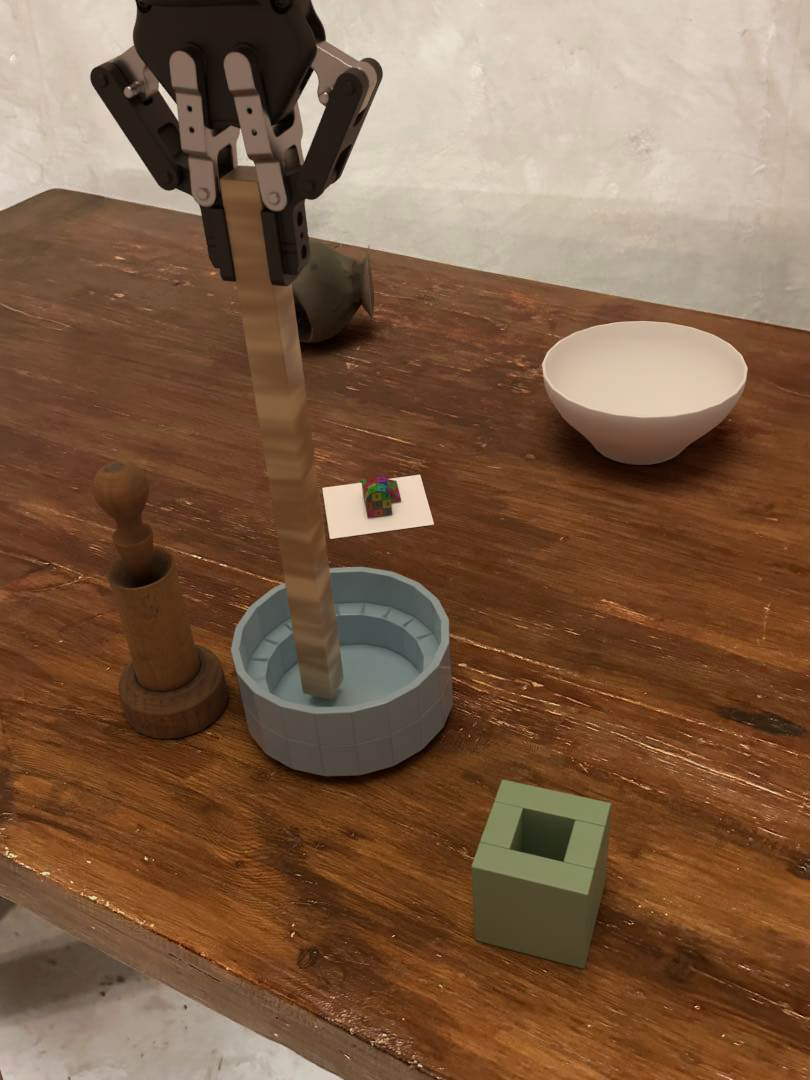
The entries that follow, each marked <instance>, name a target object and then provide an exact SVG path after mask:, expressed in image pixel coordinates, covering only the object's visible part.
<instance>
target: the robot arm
mask: <svg viewBox="0 0 810 1080" xmlns="http://www.w3.org/2000/svg"><path fill="white" fill-rule="evenodd" d="M134 2H135V5H136V16H135V22H134V25H133V29H132V43H133V45H132V46H131V47H129V48H128V49H126V50H125V51H124V52H123V53H121V54H119V55H117V56H116V57H113V58H111V59H109V60H107V61H105V62H103V63H101V64H98V65H97V66H95V67H93V68H92V69H91V70H90V74H89V79H90V84H91V86H92V87H93V89H94V90H95V92H96V93H97V95H98V97H99V98H100V99H101V101H102V103H103V104H104V106H105V107H106V108H107V110H108V112H109V113H110V114H111V116H112V117H113V119H114V121H115V123H116V124H117V125H118V126H119V128H120V130H121V131H122V132H123V134H124V136H125V137H126V138H127V140H128V142H129V143H130V145H131V146H132V147H133V149H134V151H135V152H136V153H137V155H138V157H139V158H140V160H141V161H142V163H143V164H144V166H145V167H146V169H147V170H148V172H149V174H150V175H151V176H152V178H153V179H154V181H155V183H156V184H157V185H158V186H159V188H161V189H162V190H164V191H168V192H171V191H174V190H178V191H181V192H182V193H185V194H187V195H189V196H191V198H193V200H194V201H195V202H196V204H197V205H198V206H199V210H200V214H201V220H202V226H203V232H204V237H205V243H206V246H207V247H206V249H207V253H208V254H207V255H208V259H209V261H210V263H211V265H212V266H213V269H217V270H219V275H220V278H221V280H222V281H224V282H233V283H236V278H235V272H234V266H233V260H232V253H231V247H230V241H229V235H228V229H227V223H226V217H225V211H224V206H223V200H222V194H221V188H220V179H221V178H222V177H223V176H225V175H226V174H228V173H229V172H230V171H232V170H233V169H234V168H236V167H237V166H239V162H238V148H237V147H238V146H237V143H238V139H239V137H240V133H241V137H242V141H243V145H244V149H245V154H246V156H247V158H248V159H249V160H250V161H252V162H253V165H254V166H255V169H256V173H257V178H258V182H259V187H260V191H261V196H262V200H263V202H264V204H265V206H266V208H265V209H264V210H262V211H261V212H260V214H261V221H262V227H263V234H264V241H265V248H266V255H267V262H268V269H269V276H270V281H271V284H272V285H276V286H289V285H290V284H291V283H292V282H293V281H294V280H295V279H296V278H297V277H298V276H299V275H300V273H301V270H302V269H303V268H304V267H305V266H306V265H307V264H308V262H309V258H310V254H311V252H310V244H309V238H310V237H309V229H308V221H307V212H306V200H309V201H315V200H317V199H318V198H319V197H321V196H322V195H323V194H324V193H325V191H326V190H327V189H328V188H329V187H330V186H331V185H333V184H335V183H336V182H337V181H338V180H339V179H341V177H342V175H343V172H344V170H345V167H346V165H347V163H348V160H349V158H350V156H351V154H352V151H353V149H354V146H355V144H356V142H357V139H358V137H359V135H360V133H361V130H362V128H363V125H364V123H365V120H366V119H367V116H368V113H369V111H370V109H371V106H372V104H373V101H374V99H375V97H376V95H377V92H378V90H379V87H380V85H381V83H382V80H383V77H384V70H383V67H382V65H381V63H380V62H379V61H378V60H377V59H375V58H373V57H364V58H362V59H360V60H357V59H356V58H354V57H353V56H351V55H349V54H348V53H346V52H344V50H343V51H342V50H341V49H339V48H338V47H336V46H334V45H333V44H332V43H329V41H327V33H326V29H325V27H324V25H323V23H322V20H321V19H320V17H319V15H318V13H317V11H316V9H315V7H314V4H313V1H312V0H134ZM313 73H315V74H316V77H317V80H318V84H317V85H318V86H317V90H316V95H317V98H318V101H319V103H320V104H321V105H322V106H324V107H325V108H324V110H323V113H322V115H321V118H320V119H319V122H318V125H317V127H316V131H315V133H314V135H313V137H312V140H311V143H310V146H309V148H308V151H307V153H306V156H305V158H304V155H303V149H302V139H303V136H304V129H303V128H304V127H303V123H302V118H301V117H302V116H301V112H300V107H299V102H298V101H299V99H300V98H301V96H302V94H303V91H304V90H305V88H306V86H307V85H308V82H309V80H310V78H311V77H312V75H313ZM160 85H161V87H162V88H163V89H164V90H165V92H166V93H167V95H168V96H169V97H170V99H171V100H172V101H173V102H174V103H175V104H176V109H177V111H176V112H177V117H176V115H175V113H174V112H173V111H172V109H171V107H170V106H169V104H168V103H167V101H166V99H165V98H164V96H163V95H162V93H161V92H160V90H159V89H160ZM0 1080H4V1078H3V1074H2V1071H1V1069H0Z"/></svg>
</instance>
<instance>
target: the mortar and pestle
mask: <svg viewBox="0 0 810 1080" xmlns="http://www.w3.org/2000/svg"><path fill="white" fill-rule="evenodd" d="M92 493H93V497H94V500H95V502H96V503H97V505H98V506H99V507H100V508H101V509H102V511H104V512H105V513H106V514H107V515H109V516H110V517H111V518H112V519H113V520H114V521H115V524H116V529H115V531H114V532H113V533H112V536H111V539H112V542H113V545H114V547H115V549H116V550H117V553H118V554H119V555H120V556H118V557H117V558H115V559H114V561H112V562H111V564H110V566H109V567H108V569H107V580H108V582H109V587H110V590H111V592H112V596H113V599H114V602H115V606H116V608H117V612H118V616H119V618H120V622H121V625H122V629H123V633H124V636H125V639H126V644H127V646H128V650H129V654H130V657H131V661H130V662H129V663H128V664H127V665H126V667H124V669H123V670H122V672H121V674H120V676H119V679H118V683H117V689H118V696H119V700H120V703H121V706H122V711H123V714H124V717H125V720H126V721H127V723H128V724H129V725H130V727H132V729H133V730H135V731H136V732H138V733H140V734H141V735H144V736H146V737H149V738H153V739H159V740H162V739H163V740H173V739H181V738H185V737H188V736H192V735H193V734H196V733H199V732H201V731H202V730H204V729H207V727H208V726H210V725H211V724H213V723H214V722H215V721H216V720H217V719H218V718H219V717H220V716H221V714H223V711H224V710H225V708H226V706H227V703H228V699H229V687H228V683H227V680H226V676H225V672H224V667H223V664H222V662H221V660H220V659H219V657H218V656H217V655H216V653H214V652H213V651H212V650H211V649H209V648H207V647H206V646H203V645H200V644H197V643H195V640H194V635H193V632H192V627H191V624H190V619H189V615H188V611H187V607H186V603H185V602H186V601H185V598H184V594H183V590H182V587H181V586H182V585H181V581H180V577H179V573H178V569H177V568H178V567H177V563H176V560H175V557H174V555H173V553H172V552H170V551H169V550H167V548H166V549H165V548H163V547H160V546H159V547H158V546H154V530H153V528H152V527H151V525H149V524H148V523H144V522H143V518H142V517H143V516H142V515H143V512H144V510H145V507H146V505H147V501H148V498H149V495H150V483H149V479H148V478H147V476H146V474H145V472H144V471H143V470H142V468H140V467H139V466H138V465H137V464H135V463H133V462H131V461H127V460H117V461H113V462H109V463H107V464H105V465H103V466H101V468H100V469H99V470H98V471H97V472H96V474H95V476H94V478H93V481H92Z"/></svg>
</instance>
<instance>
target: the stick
mask: <svg viewBox="0 0 810 1080" xmlns="http://www.w3.org/2000/svg"><path fill="white" fill-rule="evenodd" d="M220 188H221V194H222V200H223V206H224V211H225V217H226V223H227V229H228V235H229V241H230V247H231V253H232V260H233V266H234V272H235V278H236V282H235V285H236V291H237V297H238V304H239V309H240V316H241V323H242V328H243V333H244V340H245V346H246V354H247V357H248V365H249V371H250V376H251V383H252V389H253V394H254V395H253V396H254V402H255V407H256V408H255V409H256V413H257V421H258V425H259V432H260V437H261V445H262V450H263V456H264V463H265V470H266V474H267V480H268V481H267V482H268V486H269V493H270V494H269V495H270V499H271V505H272V511H273V518H274V524H275V531H276V536H277V542H278V549H279V554H280V560H281V567H282V572H283V579H284V583H285V586H286V592H287V598H288V604H289V610H290V616H291V622H292V629H293V635H294V641H295V647H296V653H297V659H298V665H299V671H300V677H301V684H302V690H303V693H304V694H309V695H313V696H318V697H323V698H328V699H333V697H334V695H335V693H336V691H337V690H338V688H339V686H340V684H341V682H342V681H343V679H344V675H343V668H342V660H341V653H340V645H339V638H338V630H337V623H336V615H335V607H334V600H333V592H332V585H331V577H330V570H329V568H330V564H329V555H328V549H327V540H326V533H325V525H324V518H323V510H322V502H321V496H320V488H319V487H320V486H319V481H318V479H319V478H318V472H317V465H316V457H315V450H314V441H313V435H312V434H313V433H312V427H311V420H310V419H311V418H310V411H309V403H308V397H307V396H308V395H307V389H306V381H305V374H304V366H303V359H302V358H303V357H302V351H301V342H300V341H299V335H298V328H297V320H296V312H295V305H294V297H293V290H292V283H291V284H290V285H289V286H276V285H272V284H271V281H270V276H269V269H268V262H267V255H266V248H265V241H264V234H263V227H262V221H261V214H260V212H261V211H262V210H264V209H265V208H266V206H265V204H264V202H263V200H262V196H261V191H260V187H259V182H258V178H257V173H256V169H255V165H238V166H237V167H236V168H234V169H233V170H232V171H230V172H229V173H228V174H226V175H225V176H223V177H222V178H221V179H220Z"/></svg>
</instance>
